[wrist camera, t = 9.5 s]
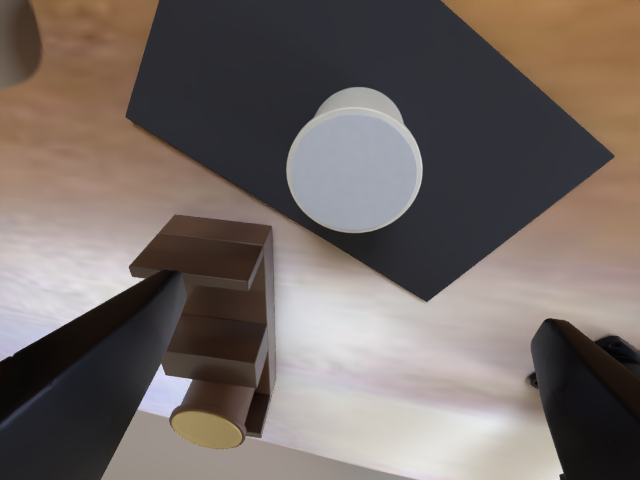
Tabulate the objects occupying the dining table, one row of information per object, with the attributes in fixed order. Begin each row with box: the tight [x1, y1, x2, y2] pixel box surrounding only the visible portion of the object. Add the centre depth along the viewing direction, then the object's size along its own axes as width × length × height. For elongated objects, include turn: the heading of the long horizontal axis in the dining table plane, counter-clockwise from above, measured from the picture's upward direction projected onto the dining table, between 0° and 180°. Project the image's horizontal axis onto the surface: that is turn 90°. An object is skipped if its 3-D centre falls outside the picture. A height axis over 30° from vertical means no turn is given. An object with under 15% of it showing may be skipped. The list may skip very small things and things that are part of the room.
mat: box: [125, 0, 615, 302], centre depth 17 cm, size 20×12×1 cm, turn 57°
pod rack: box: [129, 215, 276, 438], centre depth 23 cm, size 6×16×5 cm, turn 177°
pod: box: [169, 379, 255, 449], centre depth 24 cm, size 5×5×5 cm
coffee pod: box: [286, 87, 423, 233], centre depth 15 cm, size 5×5×5 cm
